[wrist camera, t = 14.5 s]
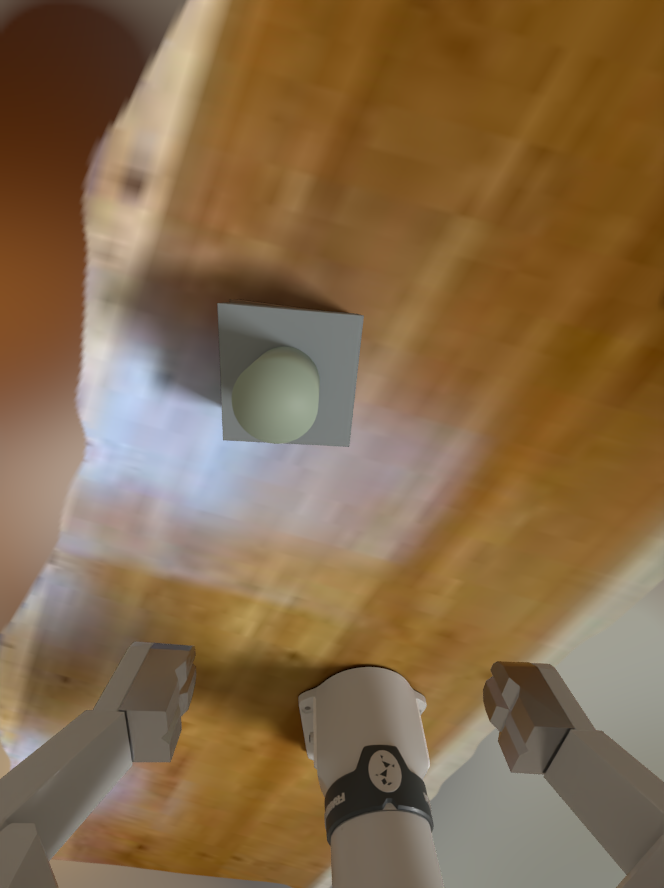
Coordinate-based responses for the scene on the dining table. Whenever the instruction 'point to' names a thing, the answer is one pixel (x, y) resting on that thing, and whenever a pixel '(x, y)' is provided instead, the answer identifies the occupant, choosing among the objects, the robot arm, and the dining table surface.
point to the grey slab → (310, 331)
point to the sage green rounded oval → (277, 395)
